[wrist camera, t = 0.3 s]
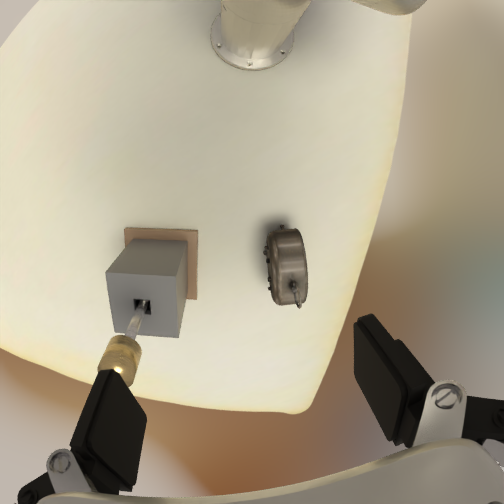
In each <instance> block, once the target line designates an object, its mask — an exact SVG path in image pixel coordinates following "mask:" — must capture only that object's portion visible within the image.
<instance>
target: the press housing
mask: <svg viewBox="0 0 504 504" xmlns="http://www.w3.org/2000/svg"><path fill="white" fill-rule="evenodd" d="M124 234H125V249H124V250H123V251H122V253H121V254H120V255H119V256H118V257H117V259H116V260H115V261H114V262H113V264H112V265H111V266H110V267H109V268H108V270H107V271H106V272H105V273H106V281H107V288H108V295H109V302H110V308H111V314H112V320H113V325H114V331H115V332H116V333H126V331H127V329H128V326H129V324H130V322H131V320H132V317H133V315H134V313H135V311H136V308H137V306H136V299H144V300H150V306H151V311H149V310H146V312H145V314H144V317H143V319H142V322H141V325H140V327H139V330H138V332H137V335H146V336H158V337H172V338H179V333H180V328H181V323H182V317H183V312H184V307H185V302H186V299H194V300H197V242H198V230H179V229H153V228H125V229H124Z"/></svg>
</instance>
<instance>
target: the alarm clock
mask: <svg viewBox="0 0 504 504" xmlns="http://www.w3.org/2000/svg"><path fill="white" fill-rule="evenodd" d="M280 227H281V230H275V231H272V232H270V233H269V235H268V237H267V246H265V249H267V252H266V251H264V252H263V253H264V255H266V256H267V260H266V262H267V263H268V273H269V277H268V282H270V287H268V290H271V295H272V298H273V301H274V302H275V303H276V304H278V305H290V304H296V305H297V307H298V308H301V307H302V303H304V302H305V301H306V297H307V293H308V272H307V261H306V253H305V248H304V243H303V239H302V236H301V234H300V232H299V230H298V229H296V228H295V229H287V230H284V225H281V226H280Z"/></svg>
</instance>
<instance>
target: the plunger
mask: <svg viewBox="0 0 504 504" xmlns="http://www.w3.org/2000/svg"><path fill="white" fill-rule="evenodd" d="M136 306H137V308H136V311H135V313H134V315H133V317H132V320H131V322H130V324H129V326H128V329H127V331H126V333H125V336H124V335H117V336H114V337H112V338H111V340H110V341H109V344H108V346H107V348H106V350H105V352H104V354H103V357H102V359H101V361H100V363H99V365H98V372H99V371H100V370H105V369H114V370H115V371H116V372H118V373H119V374H120V375H121V377H122V378H123V380H124V382H125V383H126V385H127V386H128V387H130V386H131V385H132V384H133V381H134V378H135V374H136V371H137V368H138V364H139V361H140V358H141V355H142V350H141V347H140V346H139V344H138V343H137V342H136V341H135V338H136V335H137V332H138V330H139V327H140V325H141V322H142V319H143V317H144V314H145V312H146V310H149V311H151V306H150V300H144V299H136Z"/></svg>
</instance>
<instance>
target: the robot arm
mask: <svg viewBox="0 0 504 504" xmlns="http://www.w3.org/2000/svg"><path fill="white" fill-rule="evenodd" d="M350 1H353V2H356V3H359V4H361V5H364V6H367V7H370V8H372V9H375V10H378V11H380V12H383V13H387V14H391V15H406V14H410V13H412V12H414V11H416V10H417V9H419V8H420V7H421V6H422V5H423V4H424V3H425V2H426V1H427V0H350ZM310 2H311V0H221V13H220V14H219V15H218V16H217V17H216V19H215V21H214V22H213V24H212V28H211V42H212V45H213V48H214V50H215V51H216V53H217V54H218V55H219V56H220V57H221V59H222V60H224V61H225V62H227V63H228V64H230V65H232V66H234V67H237V68H240V69H244V70H262V69H267V68H270V67H273V66H275V65H276V64H278V63H280V62H281V61H282V60H283V59H284V58H285V57H286V56H287V55H288V54H289V52H290V50H291V48H292V46H293V42H294V32H293V28H294V26H295V25H296V23H297V22H298V20H299V19H300V18H301V16H302V15H303V13H304V12H305V10H306V9H307V7H308V6H309V4H310ZM219 46H220V47H221V48H218V47H219ZM281 52H282V53H283V54H281ZM248 64H250V65H251V66H250V67H249V66H248ZM354 375H355V378H356V381H357V383H358V384H359V386H360V388H361V390H362V392H363V394H364V396H365V398H366V400H367V401H368V403H369V405H370V407H371V409H372V411H373V413H374V415H375V416H376V419H377V420H378V423H379V424H380V427H381V428H382V430H383V432H384V434H385V436H386V438H387V440H388V441H392V440H393V442H394V444H395V446H398V445H400V444H402V443H404V444H405V446H406V447H407V448H408V449H405V450H402V451H400V452H397V453H394V454H392V455H389V456H386V457H383V458H380V459H378V460H375V461H372V462H370V463H367V464H364V465H361V466H358V467H355V468H352V469H349V470H346V471H342V472H339V473H336V474H332V475H329V476H325V477H322V478H318V479H314V480H310V481H306V482H302V483H298V484H293V485H289V486H283V487H278V488H273V489H267V490H261V491H254V492H247V493H239V494H231V495H221V496H207V497H184V498H182V497H181V498H161V497H137V496H123V495H119V490H120V491H127V492H132V488H133V485H135V484H136V480H137V473H138V467H139V461H140V456H141V450H142V444H143V439H144V433H145V428H146V423H147V417H146V414H145V412H144V411H143V409H142V408H141V406H140V405H139V403H138V402H137V400H136V399H135V397H134V396H133V394H132V393H131V391H130V390H129V388H128V386H127V385H126V383H125V382H124V380H123V378H122V377H121V375H120V374H119V373H118V372H116V371H115V370H114V369H105V370H100V371H99V372H98V375H97V377H96V379H95V382H94V384H93V386H92V389H91V391H90V394H89V396H88V398H87V401H86V403H85V406H84V408H83V410H82V413H81V416H80V418H79V421H78V423H77V426H76V429H75V432H74V434H73V437H72V439H71V442H70V446H71V450H70V451H69V450H68V449H59V450H56V451H54V452H53V453H52V454H51V455H50V456H49V458H48V460H47V464H46V467H47V472H46V473H44V474H43V475H41V476H40V477H38V478H36V479H35V480H33V481H31V482H30V483H28V484H27V485H25V486H24V487H22V488H21V490H20V491H19V493H18V504H504V472H503V470H502V469H501V467H500V466H502V467H504V400H496V399H487V398H479V397H472V396H467V393H466V391H465V388H464V387H463V386H462V385H461V384H460V383H458V382H456V381H452V380H442V381H439V382H437V383H435V382H434V381H433V380H432V378H431V377H430V376H429V374H428V373H427V372H426V371H425V370H424V368H423V367H422V365H421V364H420V363H419V362H418V360H417V359H416V358H415V357H414V356H413V355H412V353H411V352H410V351H409V349H408V348H407V347H406V346H405V344H404V343H403V342H402V341H401V340H399V339H397V340H394V339H393V338H392V337H391V335H390V334H389V333H388V332H387V330H386V329H385V328H384V327H383V326H382V324H381V323H380V322H379V321H378V319H377V318H376V317H375V316H374V315H373V314H368V315H365V316H362V317H359V318H358V320H357V322H355V323H354ZM496 461H498V462H499V464H497V462H496ZM499 465H500V466H499ZM15 504H16V503H15Z"/></svg>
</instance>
